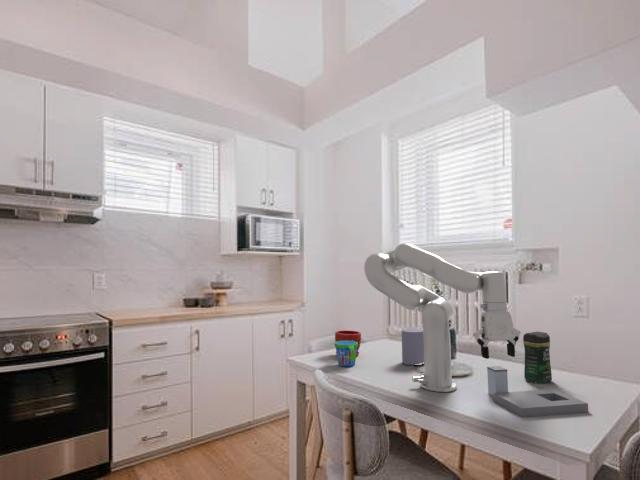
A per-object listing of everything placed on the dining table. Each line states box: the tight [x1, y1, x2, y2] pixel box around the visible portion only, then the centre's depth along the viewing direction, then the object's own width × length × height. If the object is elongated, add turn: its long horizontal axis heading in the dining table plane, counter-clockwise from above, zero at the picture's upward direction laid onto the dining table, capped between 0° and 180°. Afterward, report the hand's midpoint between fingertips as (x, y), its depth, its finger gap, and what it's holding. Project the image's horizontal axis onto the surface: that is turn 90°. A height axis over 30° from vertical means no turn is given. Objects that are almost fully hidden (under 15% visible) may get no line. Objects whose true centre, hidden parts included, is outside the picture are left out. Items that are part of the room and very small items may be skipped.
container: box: [401, 328, 424, 367], centre depth 177 cm, size 10×10×15 cm
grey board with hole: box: [492, 388, 589, 418], centre depth 121 cm, size 22×14×2 cm, turn 99°
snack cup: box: [334, 340, 358, 368], centre depth 175 cm, size 16×10×10 cm
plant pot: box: [334, 330, 362, 357], centre depth 193 cm, size 13×13×12 cm
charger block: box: [486, 365, 509, 397], centre depth 132 cm, size 5×5×9 cm
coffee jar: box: [522, 331, 553, 384], centre depth 148 cm, size 10×8×19 cm
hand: (498, 357), depth 132 cm, fingers open, 9 cm apart
